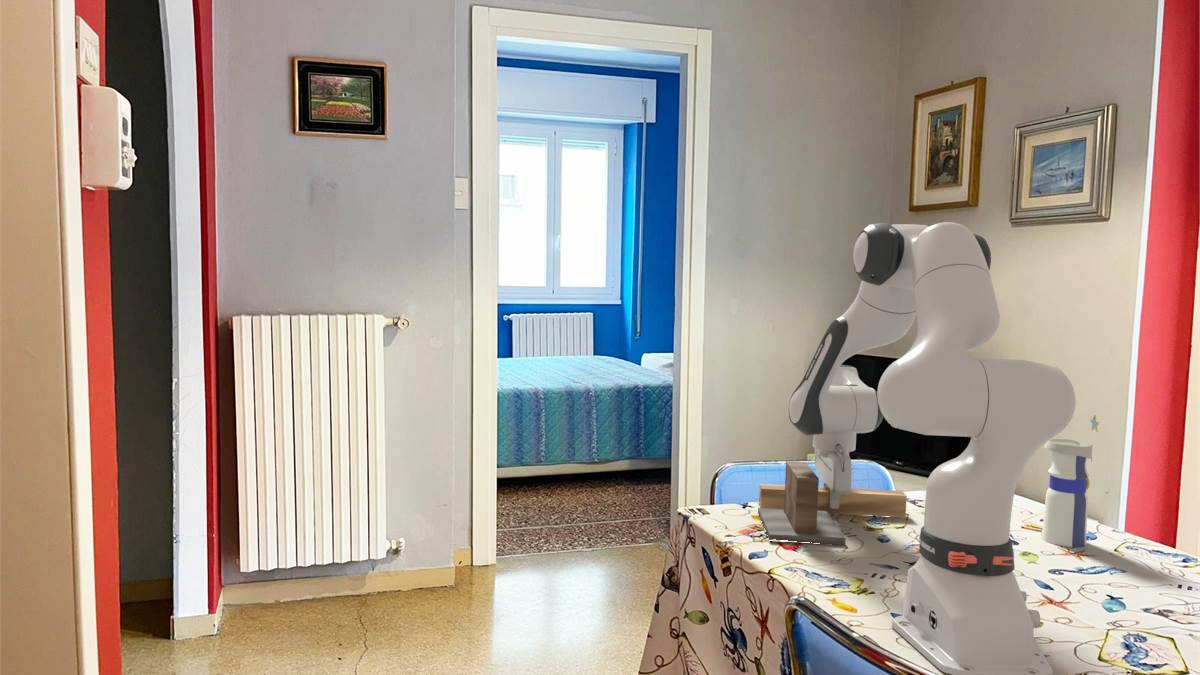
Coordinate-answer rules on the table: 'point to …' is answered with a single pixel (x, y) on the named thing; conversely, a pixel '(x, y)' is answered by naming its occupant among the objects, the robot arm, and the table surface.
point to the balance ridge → (801, 511)
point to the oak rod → (843, 501)
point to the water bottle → (1067, 492)
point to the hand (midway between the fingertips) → (831, 504)
